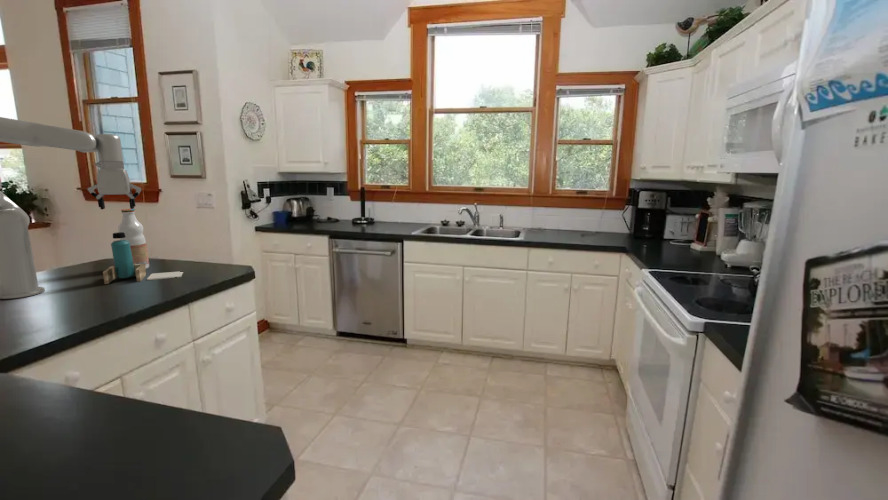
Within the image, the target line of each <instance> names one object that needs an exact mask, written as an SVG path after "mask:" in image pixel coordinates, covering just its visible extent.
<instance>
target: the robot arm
mask: <svg viewBox="0 0 888 500" xmlns="http://www.w3.org/2000/svg"><path fill="white" fill-rule="evenodd" d="M0 143H7V144H13V145H14V144H15V145H21V146H26V147H27V146H28V147H38V148H39V147H41V148H42V147H44V148H45V147H47V148H48V147H49V148H57V149H63V150H64V149H66V150H70V151H78V152H80V153H83V154H85V153H98V154H97V155H98V162H94V165H95V167H98V169H97V173H96V184H95V185H92V186H90V187H88V188H87V189H86V190H87V191H88V192H89V193H90V195H91V196H93V197H94V198H95V199H96V200H97V203H98V208H100V210H105V209H106V207H105V206H106V204H105V199H104V197H105V196H106V195H108V196H109V195H110V196H111V195H112V196H113V195H114V196H115V195H117V196H118V195H126V196H127V197H128V198H129V200H128V201H129V209H135V207H136V200H135V199H136V198H137V197H138V196H139V195H140V193H141V192H142V187H139V186H137V185H134V184H133V183H131V180H130V177H129V173H128V170H127V169H125V167H124V166H125V165H124V156H123V151H122V150H123V149H122V141H121V137H120V136H119V135H116V134H111V133H109V134H108V133H99V134H92V133H89V132H87V131H84V130H77V129H73V128H68V127H66V128H65V127H60V126H55V125H47V124H42V123H37V122H32V121H26V120H20V119H13V118H8V117H2V116H0ZM95 189H96V190H97V192H98V193H97V192H96V191H95ZM132 189H134V190H135V193H132ZM30 221H31V219H30V217H29V215H28V214H27V212H25V211H24V209H22V208H21V207H20V206H19V205H17V204H16V203H15V202H14V201H13V200H11V198H9V197H8V196H7V195H6V194H5V193H4V192H2V191H1V190H0V300H1V299H3V300H5V299H6V300H7V299H18V298H19V299H20V298H25V297H26V298H27V297H31V296H35V295H39V294H42V293H44V292H45V291H46V289H45V287H43V286H39V282H38V277H37V270H36V264H35V259H34V252H33V247H32V243H31V238H30V233H29V232H30V231H29V225H30Z"/></svg>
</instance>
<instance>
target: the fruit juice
mask: <svg viewBox="0 0 888 500" xmlns="http://www.w3.org/2000/svg"><path fill="white" fill-rule="evenodd" d="M120 212H121V214H122V221H121V223H120V224H119V225H118V231H117V232H124V233H125V236H126V237H125V238H119V240H127V241H129V242H130V247H131V253H132V256H133V257H132V258H133V264H134V265H135V264H145V267H146V269H148V268H149V267H150V260H149V253H148V247H147V240H146V237H145V235H144V229H145V228H144V226H143V224H142V223H141V222H140V221H139V220H138V219H137V217H136V214H135V213H136V209H135V208H133V209H131V208H123V209H121V210H120Z"/></svg>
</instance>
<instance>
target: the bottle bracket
mask: <svg viewBox="0 0 888 500" xmlns="http://www.w3.org/2000/svg"><path fill="white" fill-rule="evenodd" d="M134 267H135V268H134V270H135V275H134V276H133V277H136V278H135V279H136V282H141V281H142V280H143V279H144V278H145V277H146V275H147V268H146V267H145V264H135V265H134ZM102 276H103V283H104V285H109V284H111V282H113V281H114V280H115V279H116V278H118V277H117V275H116V272H115V265H111V266H109V267H108V268H106V269H105V270H103V271H102Z"/></svg>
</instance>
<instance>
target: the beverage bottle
mask: <svg viewBox="0 0 888 500" xmlns="http://www.w3.org/2000/svg"><path fill="white" fill-rule="evenodd" d="M125 237H126V236H125V233H124V232H119V231H117V232H113V233H112V239H117V240H113V241H112V242H111V243H110V246H111V252H112V258H113V259H112V260H113V265H114V266H115V272H116V275H117V277H118V278H119V279H123V278H125V279H126V278H130V277H135V276H134V275H135V270H134V268H135V267H134V264H133V258H132V257H133V256H132V253H131V247H130V242H129V241H127V240H120V238H125Z"/></svg>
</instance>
